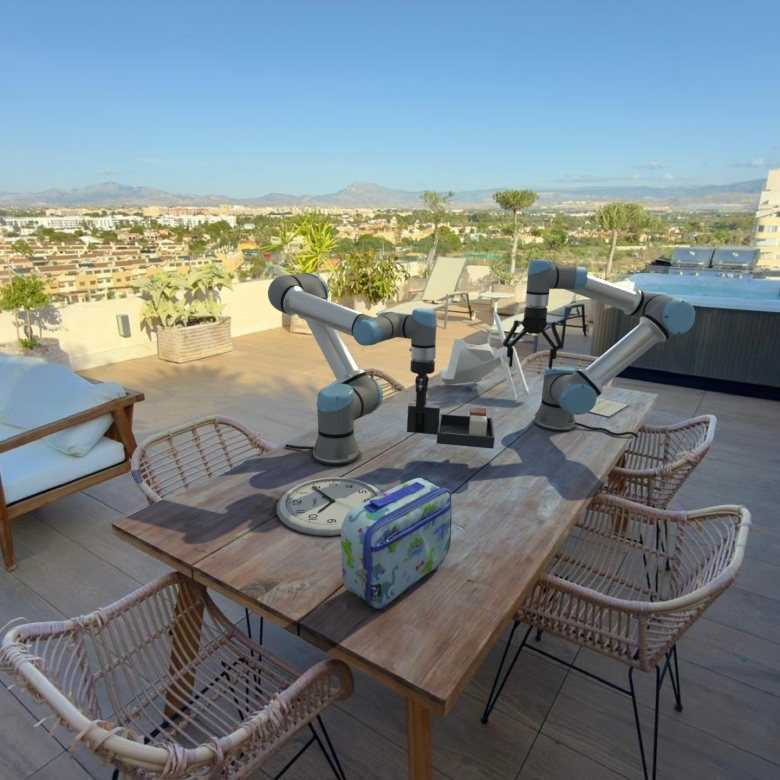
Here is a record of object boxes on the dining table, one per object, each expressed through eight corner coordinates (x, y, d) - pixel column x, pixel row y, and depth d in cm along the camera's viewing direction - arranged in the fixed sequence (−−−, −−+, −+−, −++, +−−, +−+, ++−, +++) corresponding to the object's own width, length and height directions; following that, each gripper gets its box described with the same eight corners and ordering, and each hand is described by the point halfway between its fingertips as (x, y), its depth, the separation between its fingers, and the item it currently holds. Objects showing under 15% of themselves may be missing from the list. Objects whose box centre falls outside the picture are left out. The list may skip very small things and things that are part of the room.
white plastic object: (461, 429, 252) (437, 405, 227) (444, 352, 274) (420, 323, 250) (535, 404, 240) (518, 377, 215) (510, 326, 262) (492, 293, 237)
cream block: (484, 437, 165) (486, 416, 163) (485, 443, 160) (487, 422, 158) (468, 435, 165) (470, 415, 163) (468, 441, 161) (470, 420, 159)
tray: (491, 428, 174) (493, 402, 171) (493, 448, 158) (496, 420, 155) (410, 421, 178) (411, 396, 175) (404, 440, 161) (405, 413, 159)
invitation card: (608, 416, 214) (573, 407, 224) (608, 416, 214) (573, 408, 224) (628, 404, 229) (594, 396, 238) (628, 405, 229) (594, 397, 238)
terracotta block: (483, 428, 172) (485, 408, 170) (484, 433, 168) (486, 413, 166) (468, 426, 173) (470, 406, 171) (468, 432, 168) (470, 411, 166)
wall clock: (392, 527, 129) (268, 531, 127) (391, 533, 130) (269, 537, 127) (383, 473, 158) (282, 475, 155) (383, 478, 158) (282, 480, 156)
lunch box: (370, 622, 101) (370, 527, 94) (335, 595, 108) (333, 505, 102) (455, 565, 118) (460, 481, 112) (420, 544, 125) (423, 465, 119)
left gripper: (413, 352, 170) (411, 420, 177) (408, 365, 155) (405, 438, 162) (436, 354, 169) (433, 422, 176) (433, 366, 154) (430, 440, 161)
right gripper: (571, 306, 179) (564, 366, 186) (498, 303, 182) (493, 362, 188) (576, 309, 172) (568, 371, 179) (499, 306, 175) (494, 368, 181)
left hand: (420, 429), depth 169 cm, fingers closed on tray, 3 cm apart
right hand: (530, 367), depth 184 cm, fingers open, 13 cm apart
